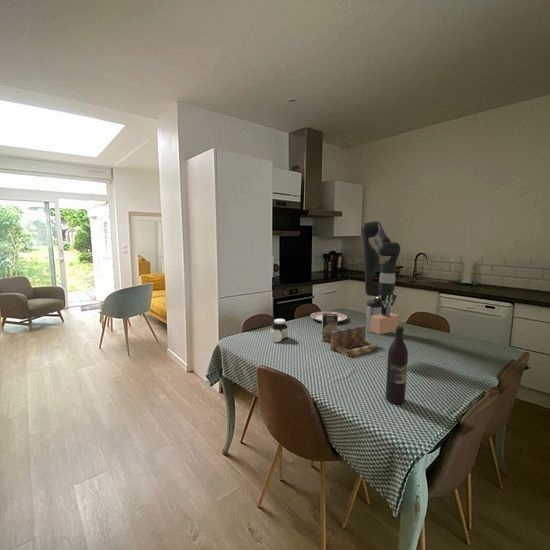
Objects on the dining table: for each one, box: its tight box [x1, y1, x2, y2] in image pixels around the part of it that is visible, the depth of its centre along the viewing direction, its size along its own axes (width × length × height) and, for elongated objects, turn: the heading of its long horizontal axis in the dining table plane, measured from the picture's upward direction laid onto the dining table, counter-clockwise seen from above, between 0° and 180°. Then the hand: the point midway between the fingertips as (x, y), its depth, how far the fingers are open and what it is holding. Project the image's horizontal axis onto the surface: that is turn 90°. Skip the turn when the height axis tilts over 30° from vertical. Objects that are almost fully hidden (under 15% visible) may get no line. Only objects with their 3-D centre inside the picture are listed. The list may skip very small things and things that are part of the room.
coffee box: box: [320, 313, 339, 343], centre depth 181 cm, size 9×6×16 cm
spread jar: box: [270, 318, 289, 343], centre depth 182 cm, size 12×11×12 cm
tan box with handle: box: [370, 306, 400, 335], centre depth 154 cm, size 14×6×13 cm, turn 118°
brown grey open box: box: [330, 324, 376, 358], centre depth 167 cm, size 24×12×11 cm, turn 118°
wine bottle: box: [385, 325, 409, 405], centre depth 115 cm, size 7×7×30 cm
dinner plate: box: [310, 311, 348, 323], centre depth 226 cm, size 28×27×3 cm
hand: (385, 314), depth 154 cm, fingers closed on tan box with handle
